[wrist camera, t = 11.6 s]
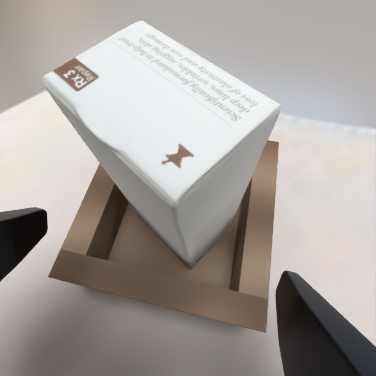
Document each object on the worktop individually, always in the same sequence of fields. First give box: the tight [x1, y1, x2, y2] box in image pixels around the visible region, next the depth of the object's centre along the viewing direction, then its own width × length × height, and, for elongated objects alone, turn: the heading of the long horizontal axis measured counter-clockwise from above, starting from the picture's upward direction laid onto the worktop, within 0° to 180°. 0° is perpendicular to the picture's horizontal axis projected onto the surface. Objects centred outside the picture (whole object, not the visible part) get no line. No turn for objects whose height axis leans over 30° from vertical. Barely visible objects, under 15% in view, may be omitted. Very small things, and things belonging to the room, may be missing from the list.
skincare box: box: [42, 21, 281, 269], centre depth 12 cm, size 6×4×12 cm
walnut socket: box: [48, 140, 279, 333], centre depth 16 cm, size 12×12×4 cm
